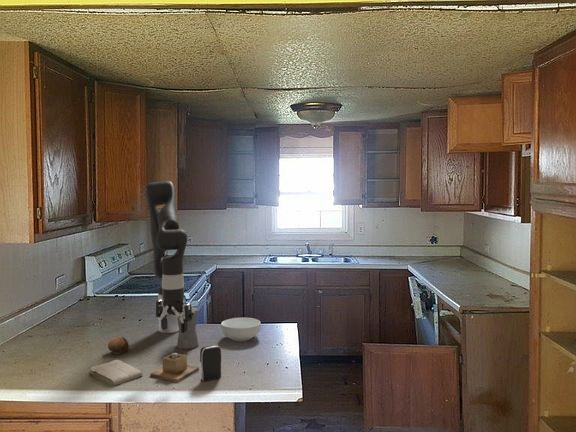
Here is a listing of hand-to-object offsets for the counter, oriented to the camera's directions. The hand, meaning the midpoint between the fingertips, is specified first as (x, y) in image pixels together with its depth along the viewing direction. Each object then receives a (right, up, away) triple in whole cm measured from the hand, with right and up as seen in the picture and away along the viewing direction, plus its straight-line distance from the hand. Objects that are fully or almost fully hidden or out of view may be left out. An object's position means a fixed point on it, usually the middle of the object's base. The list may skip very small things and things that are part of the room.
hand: (174, 330), depth 179 cm
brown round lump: (-27, -14, +23) cm, 38 cm away
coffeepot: (-2, -13, +31) cm, 34 cm away
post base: (0, -15, +1) cm, 15 cm away
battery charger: (+13, -16, -3) cm, 21 cm away
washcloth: (-21, -16, 0) cm, 26 cm away
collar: (0, -14, +1) cm, 14 cm away
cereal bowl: (+20, -12, +39) cm, 46 cm away
